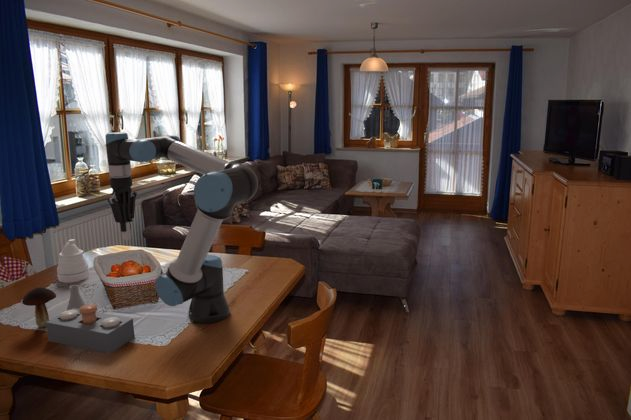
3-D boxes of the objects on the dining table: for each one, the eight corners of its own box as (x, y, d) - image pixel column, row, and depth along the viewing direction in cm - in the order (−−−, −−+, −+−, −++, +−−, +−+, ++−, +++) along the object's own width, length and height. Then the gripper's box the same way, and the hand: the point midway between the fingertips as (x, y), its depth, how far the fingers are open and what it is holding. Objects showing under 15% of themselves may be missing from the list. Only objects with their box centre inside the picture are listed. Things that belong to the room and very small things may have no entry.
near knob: (125, 339, 177) (123, 318, 176) (113, 346, 172) (111, 325, 170) (112, 336, 179) (109, 316, 177) (100, 344, 174) (97, 323, 172)
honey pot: (95, 275, 239) (90, 237, 235) (69, 284, 229) (64, 245, 225) (78, 270, 246) (73, 233, 242) (52, 279, 236) (47, 240, 231)
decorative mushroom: (37, 336, 181) (31, 296, 178) (19, 328, 187) (13, 289, 184) (66, 324, 190) (61, 285, 187) (48, 317, 196) (43, 279, 193)
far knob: (83, 331, 183) (81, 311, 182) (71, 338, 178) (68, 317, 176) (71, 329, 185) (68, 308, 183) (58, 336, 180) (55, 315, 178)
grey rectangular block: (134, 337, 180) (132, 318, 178) (110, 353, 169) (107, 333, 167) (75, 326, 189) (73, 308, 187) (48, 341, 178) (45, 322, 176)
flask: (79, 315, 198) (76, 290, 196) (62, 313, 199) (59, 289, 197) (91, 307, 205) (88, 283, 203) (74, 306, 206) (71, 282, 204)
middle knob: (103, 326, 180) (100, 305, 178) (91, 333, 174) (88, 311, 173) (90, 323, 181) (87, 303, 180) (77, 330, 176) (75, 309, 175)
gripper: (124, 172, 194) (130, 233, 199) (99, 178, 182) (106, 243, 187) (141, 173, 191) (146, 235, 197) (116, 179, 179) (123, 245, 185)
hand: (126, 239), depth 192 cm, fingers closed
